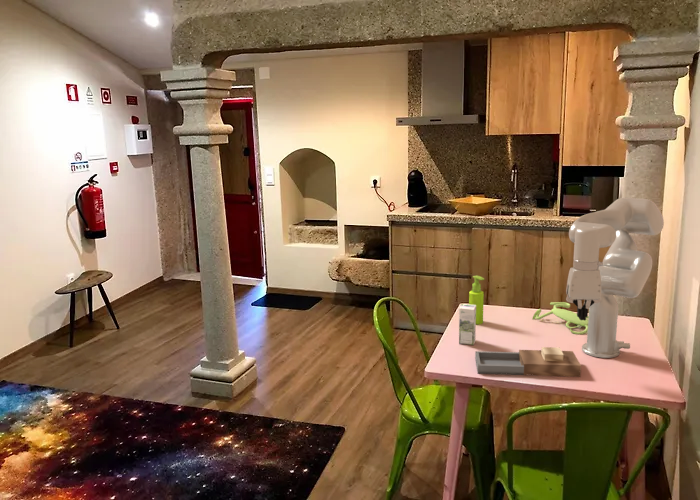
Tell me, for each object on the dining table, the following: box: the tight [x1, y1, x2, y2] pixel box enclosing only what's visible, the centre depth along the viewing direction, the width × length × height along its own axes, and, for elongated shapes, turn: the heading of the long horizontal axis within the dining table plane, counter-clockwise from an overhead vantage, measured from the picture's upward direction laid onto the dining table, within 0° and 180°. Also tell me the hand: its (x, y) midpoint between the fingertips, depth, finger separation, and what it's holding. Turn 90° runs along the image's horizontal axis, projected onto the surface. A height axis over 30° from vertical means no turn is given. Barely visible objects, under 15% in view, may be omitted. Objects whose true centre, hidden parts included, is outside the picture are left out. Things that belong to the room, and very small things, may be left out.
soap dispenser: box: [468, 275, 485, 326], centre depth 241 cm, size 6×7×20 cm
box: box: [474, 350, 525, 376], centre depth 200 cm, size 15×12×3 cm
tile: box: [540, 346, 563, 361], centre depth 197 cm, size 6×6×2 cm
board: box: [518, 349, 582, 378], centre depth 198 cm, size 18×12×4 cm, turn 82°
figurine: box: [532, 301, 589, 335], centre depth 241 cm, size 18×27×6 cm
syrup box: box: [458, 303, 477, 346], centre depth 221 cm, size 6×6×14 cm
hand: (582, 319), depth 192 cm, fingers closed
